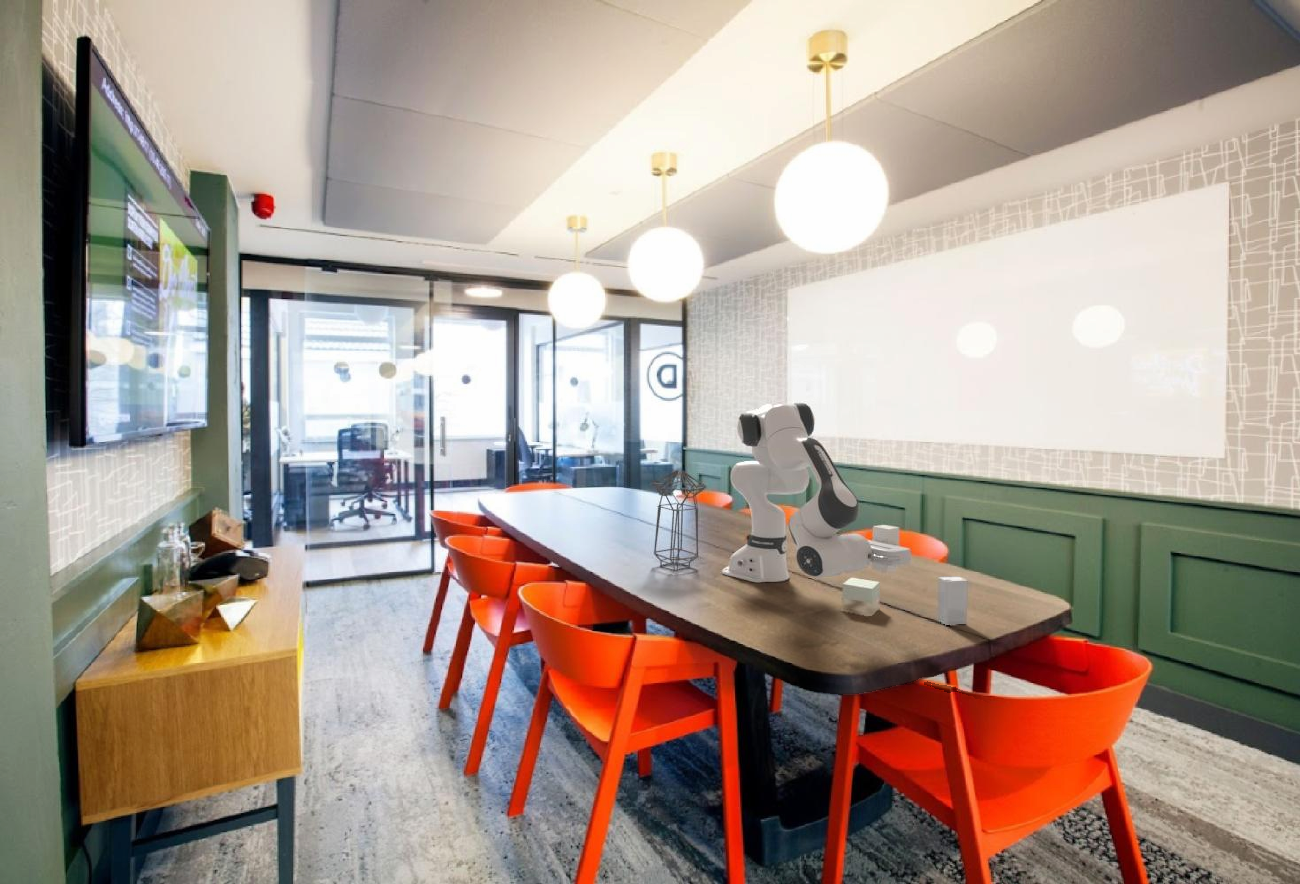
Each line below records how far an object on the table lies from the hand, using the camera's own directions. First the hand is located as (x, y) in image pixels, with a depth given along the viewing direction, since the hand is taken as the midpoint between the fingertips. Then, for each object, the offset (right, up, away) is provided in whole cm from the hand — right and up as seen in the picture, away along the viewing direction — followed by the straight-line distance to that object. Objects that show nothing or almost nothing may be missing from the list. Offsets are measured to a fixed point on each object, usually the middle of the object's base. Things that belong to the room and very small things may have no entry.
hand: (887, 546), depth 159 cm
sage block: (-1, -17, +17) cm, 24 cm away
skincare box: (+20, -22, +7) cm, 30 cm away
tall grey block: (-1, -6, 0) cm, 6 cm away
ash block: (-1, -21, +17) cm, 27 cm away
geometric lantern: (-51, -18, +63) cm, 83 cm away
